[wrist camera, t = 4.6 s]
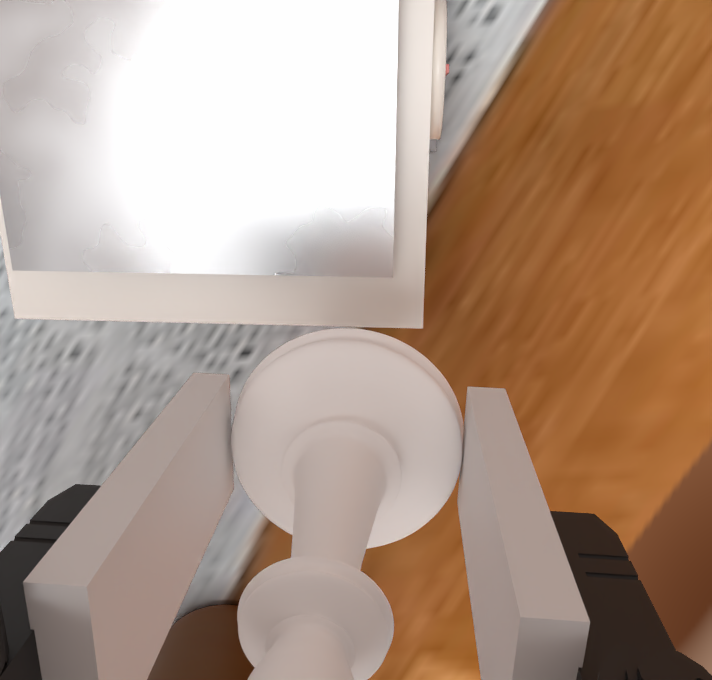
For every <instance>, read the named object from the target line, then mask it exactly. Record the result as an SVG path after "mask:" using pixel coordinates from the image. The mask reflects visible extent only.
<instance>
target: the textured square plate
mask: <svg viewBox="0 0 712 680" xmlns="http://www.w3.org/2000/svg"><path fill="white" fill-rule="evenodd" d="M398 18H399V0H0V199H1V204H2V210H3V216H4V222H5V228H6V234H7V240H8V246H9V252H10V258H11V263H12V269H13V271H67V272H120V273H173V274H226V275H279V276H333V277H386V278H393V267H394V217H395V168H396V118H397V68H398Z"/></svg>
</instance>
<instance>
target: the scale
mask: <svg viewBox="0 0 712 680" xmlns="http://www.w3.org/2000/svg"><path fill="white" fill-rule="evenodd" d="M446 44H447V3H446V0H399V18H398V68H397V118H396V168H395V217H394V267H393V278H386V277H333V276H279V275H226V274H173V273H120V272H67V271H13V269H12V263H11V258H10V252H9V246H8V240H7V234H6V228H5V222H4V216H3V210H2V204H1V199H0V235H1V241H2V246H3V252H4V258H5V264H6V270H7V275H8V281H9V287H10V293H11V299H12V304H13V310H14V316H15V319H47V320H89V321H130V322H172V323H213V324H255V325H296V326H338V327H379V328H421V329H423V311H424V283H425V255H426V227H427V199H428V171H429V151H434V152H436V148H437V139H440V137H441V130H442V120H443V107H444V91H445V76H446V75H447V74H448V73H449V64H446Z"/></svg>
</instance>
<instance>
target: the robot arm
mask: <svg viewBox="0 0 712 680" xmlns="http://www.w3.org/2000/svg"><path fill="white" fill-rule="evenodd" d="M231 432H232V428H231V402H230V376H229V374H211V373H193V374H192V375H191V377H190V378H189V379H188V380H187V381H186V383H185V384H184V385H183V386H182V388H181V389H180V390H179V391H178V392H177V394H176V395H175V396H174V397H173V399H172V400H171V401H170V402H169V403H168V405H167V406H166V407H165V408H164V410H163V411H162V412H161V413H160V415H159V416H158V417H157V418H156V419H155V421H154V422H153V423H152V424H151V426H150V427H149V428H148V429H147V430H146V432H145V433H144V434H143V435H142V437H141V438H140V439H139V440H138V442H137V443H136V444H135V445H134V446H133V448H132V449H131V450H130V451H129V453H128V454H127V455H126V456H125V457H124V459H123V460H122V461H121V462H120V464H119V465H118V466H117V467H116V468H115V470H114V471H113V472H112V473H111V475H110V476H109V477H108V478H107V480H106V481H105V482H104V483H103V484H102V486H97V485H80V484H75V485H74V486H72V487H70V488H69V489H67V490H65V491H63V492H62V493H60V494H58V495H57V496H55V497H53V498H51V499H50V500H48V501H47V502H46V503H45V504H44V506H43V507H42V508H41V509H40V510H39V511H38V512H37V513H36V514H35V515H34V516H33V518H32V519H31V520H30V524H26V525H25V526H24V527H23V528H22V529H21V531H20V532H19V533H18V534H17V535H16V536H15V540H14V541H10V542H9V544H8V545H7V546H6V547H5V548H4V549H3V550H2V551H1V552H0V680H147V678H148V676H149V674H150V672H151V670H152V667H153V665H154V663H155V661H156V659H157V656H158V654H159V652H160V650H161V648H162V645H163V643H164V641H165V639H166V637H167V634H168V632H169V630H170V628H171V626H172V623H173V621H174V619H175V617H176V615H177V613H178V610H179V608H180V606H181V604H182V602H183V599H184V597H185V595H186V593H187V591H188V588H189V586H190V584H191V582H192V580H193V577H194V575H195V573H196V571H197V569H198V566H199V564H200V562H201V560H202V558H203V555H204V553H205V551H206V549H207V547H208V544H209V542H210V540H211V538H212V536H213V533H214V531H215V529H216V527H217V525H218V522H219V520H220V518H221V516H222V514H223V511H224V509H225V507H226V505H227V503H228V500H229V498H230V496H231V494H232V492H233V489H234V481H233V457H232V449H231ZM457 504H458V511H459V519H460V526H461V533H462V541H463V548H464V556H465V563H466V570H467V578H468V585H469V593H470V600H471V608H472V615H473V622H474V630H475V637H476V645H477V652H478V659H479V667H480V674H481V680H712V676H711V675H710V674H709V673H708V672H707V671H706V670H705V669H704V667H702V666H701V665H699V664H698V663H696V662H695V661H693V660H691V659H690V658H688V657H687V656H685V655H684V654H682V653H680V652H678V651H676V650H675V648H674V646H673V644H672V642H671V640H670V638H669V636H668V634H667V632H666V630H665V628H664V626H663V624H662V622H661V620H660V618H659V616H658V614H657V612H656V610H655V608H654V606H653V604H652V602H651V600H650V598H649V596H648V594H647V593H646V590H645V588H644V587H643V584H642V583H641V581H640V580H638V575H637V573H636V571H635V569H634V567H633V565H632V563H631V561H629V560H628V555H627V553H626V551H625V549H624V547H623V545H622V543H621V541H620V539H619V537H618V535H617V534H616V533H615V532H614V531H613V530H612V529H611V528H610V527H609V526H607V525H606V524H605V523H604V522H603V521H602V520H601V519H599V518H598V517H597V516H596V515H595V514H589V513H573V512H556V511H550V510H549V508H548V505H547V502H546V499H545V497H544V494H543V491H542V488H541V486H540V483H539V480H538V478H537V475H536V472H535V469H534V467H533V464H532V461H531V458H530V456H529V453H528V450H527V447H526V445H525V442H524V439H523V436H522V434H521V431H520V428H519V425H518V423H517V420H516V417H515V415H514V412H513V409H512V406H511V404H510V401H509V398H508V395H507V393H506V390H505V389H504V388H485V387H467V398H466V409H465V421H464V432H463V444H462V462H461V468H460V478H459V489H458V501H457Z"/></svg>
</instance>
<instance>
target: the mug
mask: <svg viewBox="0 0 712 680" xmlns="http://www.w3.org/2000/svg"><path fill="white" fill-rule="evenodd" d="M237 611H238V606H237V605H214V606H208V607H204V608H200V609H198V610H195V611H193V612H191V613H189V614H187V615H185V616H184V617H182V618H181V619H179V620H178V621H177V622H176V623H175V624H174V625H173V626H172V627H171V628H170V630H169V632H168V634H167V637H166V639H165V641H164V643H163V645H162V648H161V650H160V652H159V654H158V656H157V659H156V661H155V663H154V665H153V667H152V670H151V672H150V674H149V676H148V678H147V680H247V679H248V678H249V676H250V674H251V673H252V671H253V670H254V668H255V667H254V666H253V665H252V664H251V663H250V661H249V660H248V658H247V657H246V655H245V653H244V651H243V649H242V647H241V644H240V640H239V635H238V622H237Z"/></svg>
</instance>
